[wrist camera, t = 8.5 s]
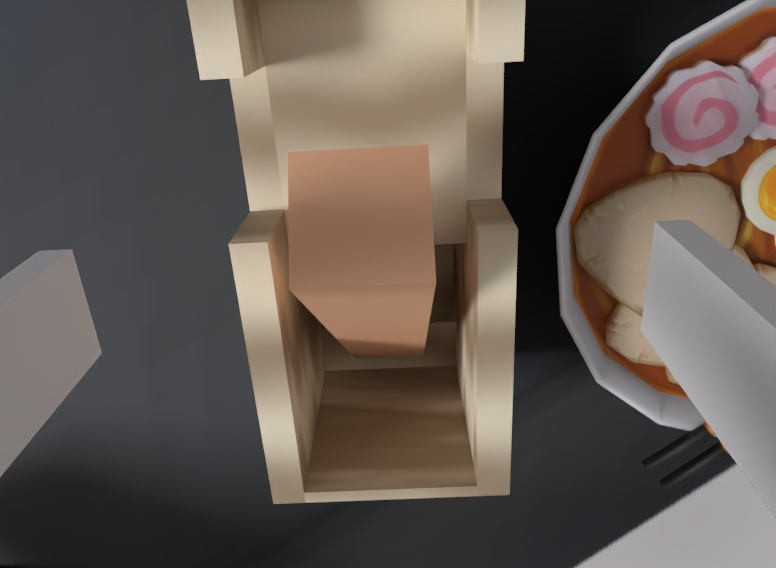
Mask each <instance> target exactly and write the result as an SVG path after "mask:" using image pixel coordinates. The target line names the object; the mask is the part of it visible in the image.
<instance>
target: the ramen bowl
mask: <svg viewBox="0 0 776 568" xmlns="http://www.w3.org/2000/svg"><path fill="white" fill-rule="evenodd" d="M672 220H691V221H692V222H694V223H695V224H696V225H697V226H699V227H700V228H701V229H703V230H704V231H705V232H706V233H708V234H709V235H710V236H712V237H713V238H714V239H715V240H717V241H718V242H719V243H721V244H722V245H723V246H725V247H726V248H727V249H728V250H730V251H731V252H732V253H734V254H735V255H736V256H737V257H739V258H740V259H741V260H743V261H744V262H745V263H747V264H748V265H749V266H750V267H752V268H753V269H754V270H756V271H757V272H758V273H759V274H761V275H762V276H763V277H765V278H766V279H767V280H768V281H770V282H771V283H772V284H774V285H775V286H776V0H746V1H744V2H743V3H741V4H739V5H737V6H736V7H734V8H732V9H730V10H729V11H727V12H725V13H723V14H721V15H720V16H718V17H716V18H714V19H713V20H711V21H709V22H707V23H706V24H704V25H702V26H700V27H699V28H697V29H695V30H693V31H692V32H690V33H688V34H686V35H685V36H683V37H681V38H679V39H678V40H676V41H674V42H672V43H671V44H669V45H668V47H667V48H666V49H665V50H664V51H663V52H662V54H661V55H660V56H659V57H658V58H657V59H656V61H655V62H654V63H653V64H652V65H651V67H650V68H649V69H648V70H647V71H646V72H645V74H644V75H643V76H642V77H641V78H640V79H639V81H638V82H637V83H636V84H635V85H634V86H633V88H632V89H631V90H630V91H629V92H628V93H627V95H626V96H625V97H624V98H623V99H622V100H621V102H620V103H619V104H618V105H617V106H616V108H615V109H614V110H613V111H612V112H611V113H610V115H609V116H608V117H607V118H606V119H605V120H604V122H603V123H602V124H601V125H600V126H599V127H598V129H597V130H596V131H595V132H594V133H593V135H592V137H591V140H590V143H589V145H588V148H587V150H586V153H585V155H584V158H583V161H582V163H581V166H580V168H579V171H578V174H577V176H576V179H575V181H574V184H573V186H572V189H571V192H570V194H569V197H568V199H567V202H566V205H565V207H564V210H563V212H562V215H561V217H560V220H559V223H558V225H557V228H556V244H557V263H558V282H559V301H560V316H561V318H562V319H563V321H564V323H565V325H566V327H567V329H568V331H569V332H570V334H571V336H572V338H573V340H574V342H575V344H576V345H577V347H578V349H579V351H580V353H581V355H582V356H583V358H584V360H585V362H586V364H587V366H588V368H589V369H590V371H591V373H592V375H593V377H594V379H595V381H596V382H597V383H598V384H600V385H601V386H603V387H604V388H606V389H607V390H609V391H610V392H612V393H613V394H615V395H616V396H617V397H619V398H620V399H622V400H623V401H625V402H626V403H628V404H629V405H631V406H632V407H634V408H635V409H637V410H638V411H639V412H641V413H642V414H644V415H645V416H647V417H648V418H650V419H651V420H653V421H654V422H656V423H657V424H660V425H664V426H669V427H673V428H678V429H682V430H687V431H691V432H689V433H688V434H686V435H684V436H683V437H681V438H679V439H678V440H676V441H675V442H673V443H671V444H670V445H668V446H666V447H665V448H663V449H661V450H660V451H658V452H657V453H655V454H653V455H652V456H650V457H648V458H647V459H645V460H644V461H642V463H643V465H644V467H645V469H646V470H647V471H648V472H649V473H650V474H651V475H652V476H653V475H655V474H656V473H658V472H659V471H661V470H662V469H664V468H665V467H667V466H669V465H670V464H672V463H673V462H675V461H676V460H678V459H679V458H681V457H683V456H684V455H686V454H687V453H689V452H690V451H692V450H693V449H695V448H697V447H698V446H700V445H701V444H703V443H704V442H706V441H707V440H709V439H711V438H712V437H717V436H716V434H715V433H714V432H713V430H712V429H711V427H710V426H709V425H708V423H707V422H706V421H705V419H704V418H703V416H702V415H701V414H700V412H699V411H698V409H697V408H696V407H695V405H694V404H693V403H692V401H691V400H690V398H689V397H688V396H687V394H686V393H685V391H684V390H683V389H682V387H681V386H680V385H679V383H678V382H677V380H676V379H675V378H674V376H673V375H672V373H671V372H670V371H669V369H668V368H667V367H666V365H665V364H664V362H663V361H662V360H661V358H660V357H659V355H658V354H657V353H656V351H655V350H654V349H653V347H652V346H651V344H650V343H649V342H648V340H647V339H646V337H645V336H644V335H643V333H642V332H641V331H640V330H641V323H642V315H643V307H644V300H645V292H646V284H647V276H648V269H649V261H650V253H651V245H652V238H653V230H654V222H655V221H672ZM728 455H730V454H729V452H728V451H727V450H726V448H725V447H724V445H723V444H722V443H721V442H718V443H717V444H715V445H714V446H712V447H711V448H709V449H708V450H706V451H705V452H703V453H702V454H700V455H698V456H697V457H695V458H694V459H692V460H691V461H689V462H688V463H686V464H685V465H683V466H682V467H680V468H678V469H677V470H675V471H674V472H672V473H671V474H669V475H668V476H666V477H665V478H663V479H662V480H660V483H661V484H662V486H663V488H664V489H665V490H666V491H667V492H668V493H669V494H670V495H671V494H673V493H674V492H676V491H677V490H679V489H680V488H681V487H683V486H684V485H686V484H687V483H689V482H690V481H692V480H693V479H695V478H696V477H698V476H699V475H700V474H702V473H703V472H705V471H706V470H708V469H709V468H711V467H712V466H714V465H715V464H717V463H718V462H719V461H721V460H722V459H724V458H725V457H727V456H728Z"/></svg>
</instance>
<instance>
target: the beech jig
mask: <svg viewBox="0 0 776 568" xmlns="http://www.w3.org/2000/svg"><path fill="white" fill-rule="evenodd" d="M525 2H526V0H187V6H188V11H189V17H190V23H191V29H192V35H193V40H194V46H195V52H196V58H197V64H198V69H199V75H200V80H208V79H226V78H230V84H231V90H232V97H233V103H234V110H235V116H236V123H237V129H238V136H239V142H240V149H241V155H242V162H243V168H244V175H245V181H246V188H247V194H248V201H249V207H250V212H249V214H248V215H247V217H246V218H245V220H244V221H243V223H242V225H241V226H240V228H239V229H238V231H237V232H236V234H235V235H234V237H233V238H232V240H231V241H230V243H229V249H230V255H231V261H232V267H233V273H234V278H235V284H236V290H237V296H238V302H239V307H240V313H241V319H242V325H243V331H244V336H245V342H246V348H247V354H248V360H249V365H250V371H251V377H252V383H253V389H254V394H255V400H256V406H257V412H258V418H259V423H260V429H261V435H262V441H263V447H264V452H265V458H266V464H267V470H268V476H269V481H270V487H271V493H272V499H273V504H285V503H311V502H337V501H363V500H389V499H415V498H441V497H466V496H492V495H510V468H511V437H512V406H513V375H514V344H515V313H516V282H517V251H518V228H517V226H516V224H515V223H514V221H513V219H512V217H511V215H510V213H509V212H508V210H507V208H506V206H505V204H504V202H503V201H502V199H501V190H502V140H503V90H504V62H518V61H524V33H525ZM427 144H428V150H429V167H430V184H431V201H432V218H433V234H434V251H435V268H436V287H435V292H434V298H433V304H432V309H431V315H430V321H429V326H428V332H427V337H426V343H425V349H424V354H423V355H410V356H388V357H366V358H354V357H353V356H352V355H351V353H350V352H349V351H348V350H347V349H346V348H345V347H344V346H343V345H342V344H341V343H340V342H339V341H338V340H337V339H336V338H335V337H334V336H333V335H332V334H331V333H330V332H329V331H328V329H327V328H326V327H325V326H324V325H323V324H322V323H321V322H320V321H319V320H318V319H317V318H316V317H315V316H314V315H313V314H312V313H311V312H310V311H309V310H308V309H307V308H306V307H305V305H304V304H303V303H302V302H301V301H300V300H299V299H298V298H297V297H296V296H295V295H294V294H293V293H292V292H291V291H290V290H289V223H288V152H299V151H317V150H335V149H354V148H372V147H390V146H409V145H427Z"/></svg>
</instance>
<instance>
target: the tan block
mask: <svg viewBox="0 0 776 568" xmlns="http://www.w3.org/2000/svg"><path fill="white" fill-rule="evenodd" d="M288 223H289V290H290V291H291V292H292V293H293V294H294V295H295V296H296V297H297V298H298V299H299V300H300V301H301V302H302V303H303V304H304V305H305V307H306V308H307V309H308V310H309V311H310V312H311V313H312V314H313V315H314V316H315V317H316V318H317V319H318V320H319V321H320V322H321V323H322V324H323V325H324V326H325V327H326V328H327V329H328V331H329V332H330V333H331V334H332V335H333V336H334V337H335V338H336V339H337V340H338V341H339V342H340V343H341V344H342V345H343V346H344V347H345V348H346V349H347V350H348V351H349V352H350V353H351V355H352V356H353V357H354V358H366V357H388V356H410V355H423V354H424V349H425V343H426V337H427V332H428V326H429V321H430V315H431V309H432V304H433V298H434V292H435V287H436V268H435V251H434V234H433V218H432V201H431V184H430V167H429V150H428V144H427V145H409V146H390V147H372V148H354V149H335V150H317V151H299V152H288Z"/></svg>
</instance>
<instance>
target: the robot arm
mask: <svg viewBox="0 0 776 568" xmlns="http://www.w3.org/2000/svg"><path fill="white" fill-rule="evenodd" d="M640 331H641V332H642V333H643V335H644V336H645V337H646V339H647V340H648V342H649V343H650V344H651V346H652V347H653V349H654V350H655V351H656V353H657V354H658V355H659V357H660V358H661V360H662V361H663V362H664V364H665V365H666V367H667V368H668V369H669V371H670V372H671V373H672V375H673V376H674V378H675V379H676V380H677V382H678V383H679V385H680V386H681V387H682V389H683V390H684V391H685V393H686V394H687V396H688V397H689V398H690V400H691V401H692V403H693V404H694V405H695V407H696V408H697V409H698V411H699V412H700V414H701V415H702V416H703V418H704V419H705V421H706V422H707V423H708V425H709V426H710V427H711V429H712V430H713V432H714V433H715V434H716V436H717V437H718V439H719V440H720V441H721V443H722V444H723V445H724V447H725V448H726V450H727V451H728V452H729V454H730V455H731V457H732V458H733V459H734V461H735V462H736V463H737V465H738V466H739V468H740V469H741V470H742V472H743V473H744V475H745V476H746V477H747V479H748V480H749V482H750V483H751V484H752V486H753V487H754V488H755V490H756V491H757V492H758V494H759V495H760V496H761V498H762V500H763V501H764V502H765V504H766V505H767V506H768V508H769V509H770V511H771V512H772V513H773V515H774V516H775V518H776V286H775V285H774V284H772V283H771V282H770V281H768V280H767V279H766V278H765V277H763V276H762V275H761V274H759V273H758V272H757V271H756V270H754V269H753V268H752V267H750V266H749V265H748V264H747V263H745V262H744V261H743V260H741V259H740V258H739V257H737V256H736V255H735V254H734V253H732V252H731V251H730V250H728V249H727V248H726V247H725V246H723V245H722V244H721V243H719V242H718V241H717V240H715V239H714V238H713V237H712V236H710V235H709V234H708V233H706V232H705V231H704V230H703V229H701V228H700V227H699V226H697V225H696V224H695V223H694V222H692V221H691V220H672V221H655V222H654V230H653V238H652V245H651V253H650V261H649V269H648V276H647V284H646V292H645V300H644V307H643V315H642V323H641V330H640ZM101 354H102V352H101V349H100V345H99V342H98V338H97V335H96V331H95V328H94V325H93V321H92V318H91V314H90V311H89V307H88V304H87V300H86V297H85V293H84V290H83V286H82V283H81V279H80V276H79V272H78V269H77V265H76V262H75V258H74V255H73V251H72V249H69V250H48V251H38V252H37V253H35V254H34V255H33V256H31V257H30V258H29V259H27V260H26V261H24V262H23V263H22V264H20V265H19V266H17V267H16V268H15V269H13V270H12V271H11V272H9V273H8V274H6V275H5V276H4V277H2V278H1V279H0V477H1V476H2V474H3V473H4V472H5V471H6V470H7V468H8V467H9V466H10V465H11V464H12V462H13V461H14V460H15V459H16V457H17V456H18V455H19V454H20V453H21V451H22V450H23V449H24V448H25V446H26V445H27V444H28V443H29V442H30V440H31V439H32V438H33V437H34V435H35V434H36V433H37V432H38V431H39V429H40V428H41V427H42V426H43V424H44V423H45V422H46V421H47V420H48V418H49V417H50V416H51V415H52V413H53V412H54V411H55V410H56V409H57V407H58V406H59V405H60V404H61V402H62V401H63V400H64V399H65V398H66V396H67V395H68V394H69V393H70V391H71V390H72V389H73V388H74V387H75V385H76V384H77V383H78V382H79V380H80V379H81V378H82V377H83V376H84V374H85V373H86V372H87V371H88V369H89V368H90V367H91V366H92V365H93V363H94V362H95V361H96V360H97V358H98V357H99V356H100V355H101Z"/></svg>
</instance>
